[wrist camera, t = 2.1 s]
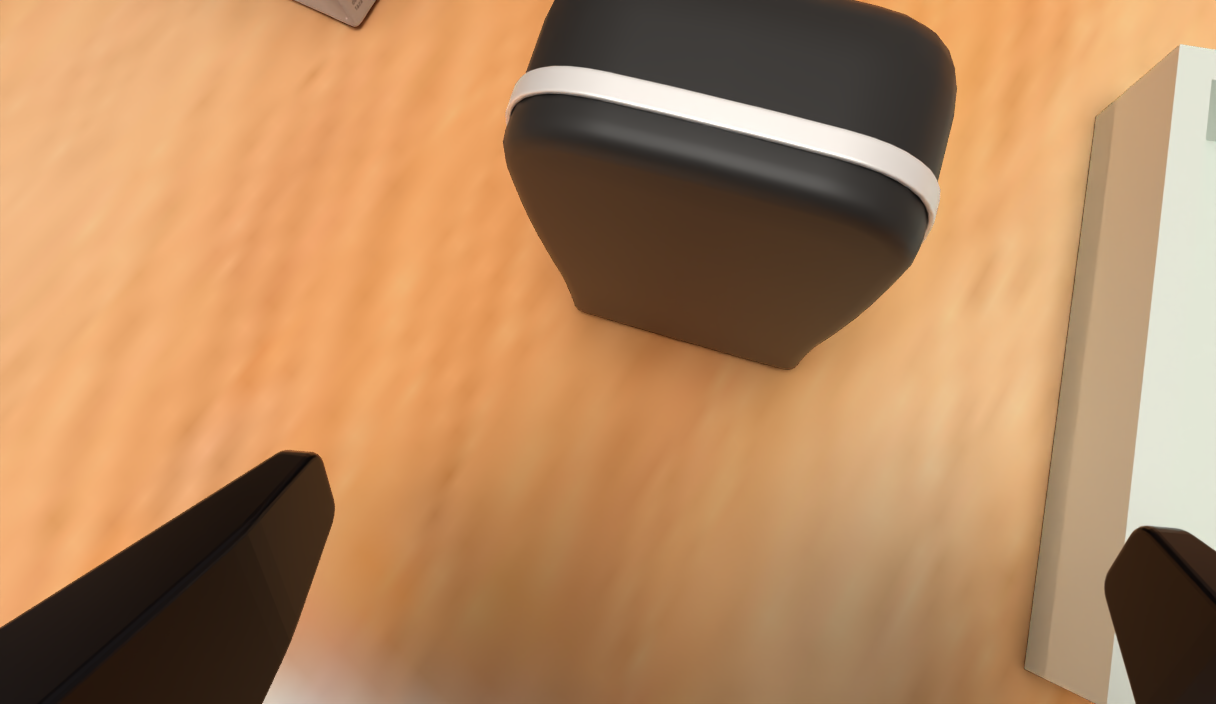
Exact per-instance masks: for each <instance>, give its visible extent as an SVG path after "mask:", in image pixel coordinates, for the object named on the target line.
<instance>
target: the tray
mask: <svg viewBox="0 0 1216 704" xmlns="http://www.w3.org/2000/svg"><path fill="white" fill-rule="evenodd" d="M1140 526H1158V527H1169V528H1178V529H1182V530H1185V531H1187V532H1189V533H1191V534H1192V535H1194V536H1195V537H1197V538H1198V539H1200V540H1201V541H1203V542H1204V543H1205V544H1207V545H1208V546H1210V547H1211V548H1212V549H1214V550H1215V551H1216V50H1213V49H1207V48H1201V47H1194V46H1188V45H1182V44H1180V45H1179V46H1177V47H1176V48H1175V49H1174V50H1173V51H1172V52H1170V53H1169V54H1168V55H1167V56H1166V57H1165V58H1163V59H1162V60H1161V61H1160V62H1159V63H1158V64H1156V65H1155V66H1154V67H1153V68H1152V69H1151V70H1150V71H1148V72H1147V73H1146V74H1145V75H1144V76H1143V77H1141V78H1140V79H1139V80H1138V81H1137V82H1136V83H1134V84H1133V85H1132V86H1131V87H1130V88H1129V89H1128V90H1126V91H1125V92H1124V93H1123V94H1122V95H1121V96H1119V97H1118V98H1117V99H1116V100H1115V101H1114V102H1112V103H1111V104H1110V105H1109V106H1108V107H1107V108H1105V109H1104V110H1103V111H1102V112H1101V113H1100V114H1099V115H1097V116H1096V121H1095V129H1094V136H1093V144H1092V152H1091V159H1090V167H1089V175H1088V183H1087V190H1086V198H1085V206H1084V213H1083V221H1082V229H1081V236H1080V244H1079V252H1078V259H1077V267H1076V275H1075V282H1074V290H1073V298H1072V306H1071V313H1070V321H1069V329H1068V336H1067V344H1066V352H1065V359H1064V367H1063V375H1062V382H1061V390H1060V398H1059V405H1058V413H1057V421H1056V429H1055V436H1054V444H1053V452H1052V459H1051V467H1050V475H1049V482H1048V490H1047V498H1046V505H1045V513H1044V521H1043V528H1042V536H1041V544H1040V552H1039V559H1038V567H1037V575H1036V582H1035V590H1034V598H1033V605H1032V613H1031V621H1030V628H1029V636H1028V644H1027V651H1026V659H1025V667H1024V669H1026V670H1028V671H1030V672H1032V673H1034V674H1036V675H1038V676H1040V677H1042V678H1044V679H1046V680H1048V681H1050V682H1052V683H1054V684H1056V685H1058V686H1060V687H1063V688H1065V689H1067V690H1069V691H1071V692H1073V693H1075V694H1077V695H1079V696H1081V697H1083V698H1085V699H1087V700H1089V701H1091V702H1093V703H1095V704H1135V700H1134V697H1133V693H1132V690H1131V686H1130V683H1129V679H1128V676H1127V672H1126V669H1125V665H1124V662H1123V658H1122V655H1121V651H1120V648H1119V644H1118V641H1117V637H1116V634H1115V630H1114V627H1113V623H1112V620H1111V616H1110V613H1109V609H1108V605H1107V602H1106V598H1105V592H1104V582H1105V578H1106V574H1107V572H1108V570H1109V569H1110V567H1111V565H1112V564H1113V562H1114V561H1115V559H1116V557H1117V556H1118V554H1119V552H1120V551H1121V549H1122V547H1123V546H1124V544H1125V543H1126V541H1127V539H1128V538H1129V536H1130V534H1131V533H1132V532H1133V531H1134V530H1135V529H1137V528H1139V527H1140Z"/></svg>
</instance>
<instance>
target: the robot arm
mask: <svg viewBox="0 0 1216 704" xmlns="http://www.w3.org/2000/svg"><path fill="white" fill-rule="evenodd" d="M334 512H335V504H334V499H333V495H332V492H331V488H330V485H329V481H328V478H327V474H326V471H325V467H324V463H323V461H322V459H321V457H320V456H319V455H318V454H316V453H314V452H304V451H293V450H285V451H281V452H279V453H277V454H275V455H273V456H272V457H270V458H269V459H267V460H265V461H264V462H262V463H261V464H259V465H258V466H256V467H254V468H253V469H251V470H250V471H248V472H246V473H245V474H243V475H242V476H240V477H238V478H237V479H235V480H234V481H232V482H231V483H229V484H227V485H226V486H224V487H223V488H221V489H219V490H218V491H216V492H215V493H213V494H212V495H210V496H208V497H207V498H205V499H204V500H202V501H200V502H199V503H197V504H196V505H194V506H192V507H191V508H189V509H188V510H186V511H185V512H183V513H181V514H180V515H178V516H177V517H175V518H173V519H172V520H170V521H169V522H167V523H166V524H164V525H162V526H161V527H159V528H158V529H156V530H154V531H153V532H151V533H150V534H148V535H147V536H145V537H143V538H142V539H140V540H139V541H137V542H135V543H134V544H132V545H131V546H129V547H127V548H126V549H124V550H123V551H121V552H120V553H118V554H116V555H115V556H113V557H112V558H110V559H108V560H107V561H105V562H104V563H102V564H101V565H99V566H97V567H96V568H94V569H93V570H91V571H89V572H88V573H86V574H85V575H83V576H81V577H80V578H78V579H77V580H75V581H74V582H72V583H70V584H69V585H67V586H66V587H64V588H62V589H61V590H59V591H58V592H56V593H55V594H53V595H51V596H50V597H48V598H47V599H45V600H43V601H42V602H40V603H39V604H37V605H36V606H34V607H32V608H31V609H29V610H28V611H26V612H24V613H23V614H21V615H20V616H18V617H16V618H15V619H13V620H12V621H10V622H9V623H7V624H5V625H4V626H2V627H1V628H0V704H262V703H263V701H264V699H265V697H266V694H267V692H268V690H269V688H270V686H271V684H272V682H273V680H274V678H275V675H276V673H277V671H278V669H279V667H280V665H281V663H282V660H283V658H284V656H285V654H286V651H287V649H288V647H289V645H290V642H291V640H292V637H293V634H294V632H295V629H296V626H297V624H298V621H299V618H300V615H301V612H302V610H303V607H304V604H305V601H306V598H307V595H308V592H309V589H310V586H311V584H312V581H313V578H314V575H315V572H316V569H317V566H318V563H319V560H320V558H321V555H322V552H323V549H324V546H325V543H326V540H327V537H328V534H329V532H330V529H331V526H332V523H333V519H334ZM1104 592H1105V598H1106V602H1107V605H1108V609H1109V613H1110V616H1111V620H1112V623H1113V627H1114V630H1115V634H1116V637H1117V641H1118V644H1119V648H1120V651H1121V655H1122V658H1123V662H1124V665H1125V669H1126V672H1127V676H1128V679H1129V683H1130V686H1131V690H1132V693H1133V697H1134V700H1135V704H1216V551H1215V550H1214V549H1212V548H1211V547H1210V546H1208V545H1207V544H1205V543H1204V542H1203V541H1201V540H1200V539H1198V538H1197V537H1195V536H1194V535H1192V534H1191V533H1189V532H1187V531H1185V530H1182V529H1178V528H1169V527H1158V526H1140V527H1139V528H1137V529H1135V530H1134V531H1133V532H1132V533H1131V534H1130V536H1129V538H1128V539H1127V541H1126V543H1125V544H1124V546H1123V547H1122V549H1121V551H1120V552H1119V554H1118V556H1117V557H1116V559H1115V561H1114V562H1113V564H1112V565H1111V567H1110V569H1109V570H1108V572H1107V574H1106V578H1105V582H1104Z"/></svg>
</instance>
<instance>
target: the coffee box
mask: <svg viewBox="0 0 1216 704" xmlns="http://www.w3.org/2000/svg"><path fill="white" fill-rule="evenodd" d="M295 1H297V2H299V3H302V4H304V5H306V6H308V7H311V8H313V9H315V10H318V11H320V12H322V13H324V14H327V15H329V16H331V17H333V18H335V19H337V20H340V21H342V22H344V23H346V24H348V25H351V26H353V27H356V26H358V25H360V23H361V22H362V21H363V19H364V18H365V16H366V15H367V13H368V11H369V10H370V8H371V7H372V5H373V4H374V2H375V1H376V0H295Z"/></svg>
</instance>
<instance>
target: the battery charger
mask: <svg viewBox="0 0 1216 704" xmlns="http://www.w3.org/2000/svg"><path fill="white" fill-rule="evenodd" d="M956 92H957V86H956V76H955V68H954V64H953V61H952V58H951V55H950V52H949V50H948V48H947V47H946V46H945V44H944V43H943V42H942V40H941V39H940V38H939V36H938V35H937V34H936V33H935V32H933V31H932V30H930V29H929V28H928V27H926V26H925V25H923V24H921V23H919V22H918V21H916V20H914V19H912V18H911V17H909V16H907V15H905V14H902V13H899V12H896V11H892V10H889V9H886V8H883V7H880V6H876V5H872V4H868V3H863V2H859V1H855V0H554V2H553V4H552V6H551V8H550V10H549V12H548V14H547V16H546V18H545V21H544V23H543V26H542V29H541V32H540V35H539V37H538V40H537V43H536V46H535V49H534V51H533V54H532V57H531V60H530V63H529V66H528V68H527V71H526V74H524V75H523V76H522V77H521V78H520V79H519V80H518V82H517V83H516V84H515V87H514V90H513V92H512V95H511V98H510V101H509V104H508V106H507V110H506V124H507V127H506V130H505V135H504V140H503V145H504V152H505V159H506V163H507V167H508V170H509V173H510V175H511V178H512V180H513V183H514V185H515V187H516V190H517V192H518V195H519V197H520V199H521V202H522V204H523V206H524V208H525V210H526V213H527V215H528V217H529V219H530V221H531V223H532V225H533V227H534V228H535V230H536V232H537V234H538V236H539V238H540V239H541V241H542V243H543V245H544V246H545V248H546V250H547V252H548V253H549V255H550V257H551V258H552V260H553V262H554V263H555V265H556V266H557V268H558V270H559V271H560V273H561V274H562V276H563V278H564V280H565V282H566V284H567V286H568V289H569V291H570V293H571V295H572V298H573V301H574V304H575V306H576V307H577V308H578V309H579V310H581V311H583V312H585V313H589V314H592V315H596V316H599V317H602V318H606V319H609V320H613V321H616V322H620V323H623V324H626V325H630V326H633V327H637V328H640V329H644V330H647V331H651V332H654V333H658V334H661V335H664V336H668V337H671V338H675V339H678V340H682V341H685V342H689V343H692V344H696V345H699V346H703V347H707V348H710V349H714V350H717V351H721V352H724V353H728V354H731V355H735V356H738V357H742V358H745V359H749V360H753V361H756V362H760V363H763V364H767V365H771V366H774V367H778V368H781V369H792V368H795V367H796V366H797V365H798V363H799V362H800V361H801V360H802V358H803V357H804V356H805V355H806V354H807V353H808V352H809V351H810V350H812V349H813V348H814V347H815V346H817V345H818V344H820V343H821V342H823V341H824V340H826V339H828V338H829V337H830V336H832V335H833V334H835V333H836V332H837V331H839V330H840V329H842V328H843V327H844V326H846V325H847V324H848V323H850V322H851V321H853V320H854V319H855V318H856V317H858V316H859V315H860V314H861V313H862V312H864V311H865V310H866V309H867V308H868V307H870V306H871V305H872V304H873V303H874V302H875V301H876V300H877V299H878V298H879V297H880V296H881V295H882V294H883V293H884V292H885V291H887V290H888V289H889V288H890V287H891V286H892V285H893V284H894V283H895V282H896V280H897V279H898V278H899V277H900V276H901V275H902V274H903V273H904V272H905V271H906V270H907V269H908V268H909V267H910V266H911V264H912V262H913V261H914V259H915V257H916V255H917V253H918V251H919V249H920V246H921V244H922V243H923V241H924V240H925V239H926V237H927V235H928V234H929V232H930V231H931V229H932V226H933V224H934V221H935V217H936V213H937V209H938V205H939V201H940V187H939V185H938V178H939V174H940V170H941V166H942V162H943V158H944V154H945V150H946V146H947V142H948V138H949V134H950V130H951V125H952V121H953V117H954V110H955V101H956Z"/></svg>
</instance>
